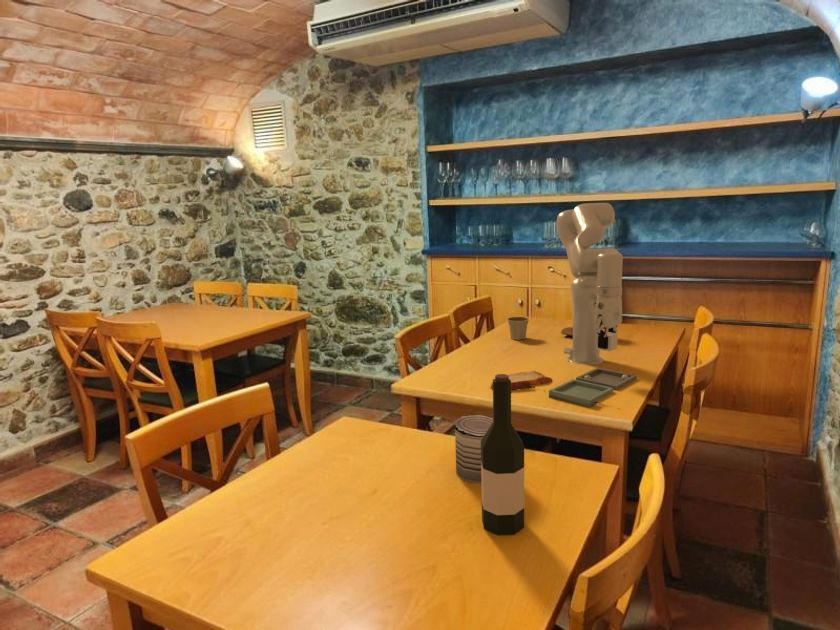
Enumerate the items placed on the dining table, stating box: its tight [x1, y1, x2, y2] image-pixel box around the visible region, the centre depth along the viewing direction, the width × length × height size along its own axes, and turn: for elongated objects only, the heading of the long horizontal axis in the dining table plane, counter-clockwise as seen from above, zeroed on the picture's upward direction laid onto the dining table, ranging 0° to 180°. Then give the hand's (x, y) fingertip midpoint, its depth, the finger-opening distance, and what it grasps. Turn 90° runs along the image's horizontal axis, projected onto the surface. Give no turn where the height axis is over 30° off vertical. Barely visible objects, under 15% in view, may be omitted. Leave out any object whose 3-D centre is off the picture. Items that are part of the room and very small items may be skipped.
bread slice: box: [490, 370, 553, 391], centre depth 195 cm, size 18×18×4 cm
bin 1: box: [548, 378, 614, 408], centre depth 183 cm, size 14×14×2 cm
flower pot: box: [506, 316, 530, 341], centre depth 254 cm, size 9×9×9 cm
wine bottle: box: [480, 373, 525, 536], centre depth 112 cm, size 8×8×30 cm
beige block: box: [596, 332, 619, 353], centre depth 192 cm, size 5×4×5 cm
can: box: [452, 414, 493, 485], centre depth 135 cm, size 11×11×12 cm
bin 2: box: [575, 367, 638, 391], centre depth 194 cm, size 14×14×3 cm
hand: (606, 345), depth 192 cm, fingers closed on beige block, 4 cm apart
